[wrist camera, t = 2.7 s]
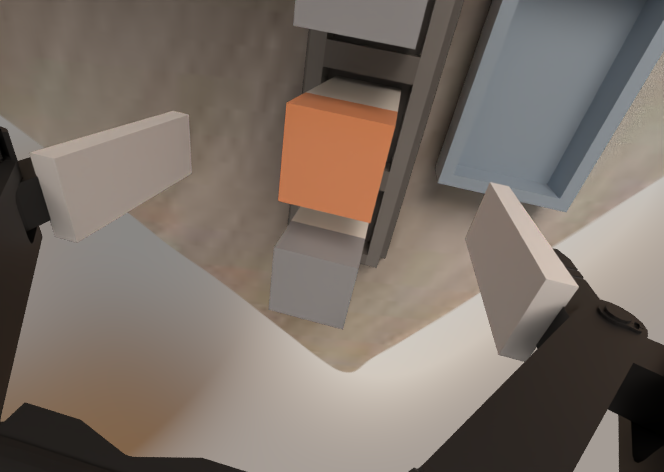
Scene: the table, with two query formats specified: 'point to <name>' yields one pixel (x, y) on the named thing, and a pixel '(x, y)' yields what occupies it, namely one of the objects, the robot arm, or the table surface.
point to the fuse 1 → (364, 19)
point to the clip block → (414, 106)
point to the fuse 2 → (317, 266)
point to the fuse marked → (338, 146)
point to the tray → (548, 94)
